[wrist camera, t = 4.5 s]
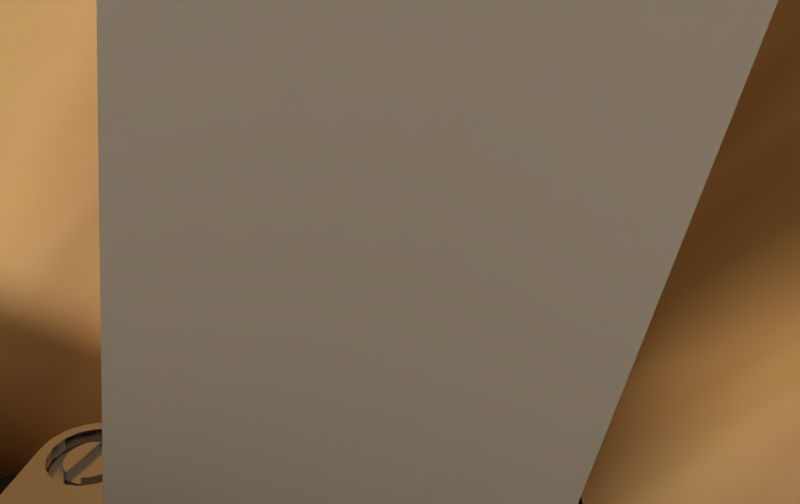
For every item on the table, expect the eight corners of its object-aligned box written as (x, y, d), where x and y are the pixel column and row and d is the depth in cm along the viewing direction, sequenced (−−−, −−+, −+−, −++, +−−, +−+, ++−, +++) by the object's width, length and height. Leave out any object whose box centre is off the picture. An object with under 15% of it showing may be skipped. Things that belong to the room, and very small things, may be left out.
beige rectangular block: (358, -65, 9) (93, -294, 3) (615, -19, 8) (850, -181, 3) (262, 622, 14) (109, 981, 9) (411, 670, 14) (349, 1077, 8)
